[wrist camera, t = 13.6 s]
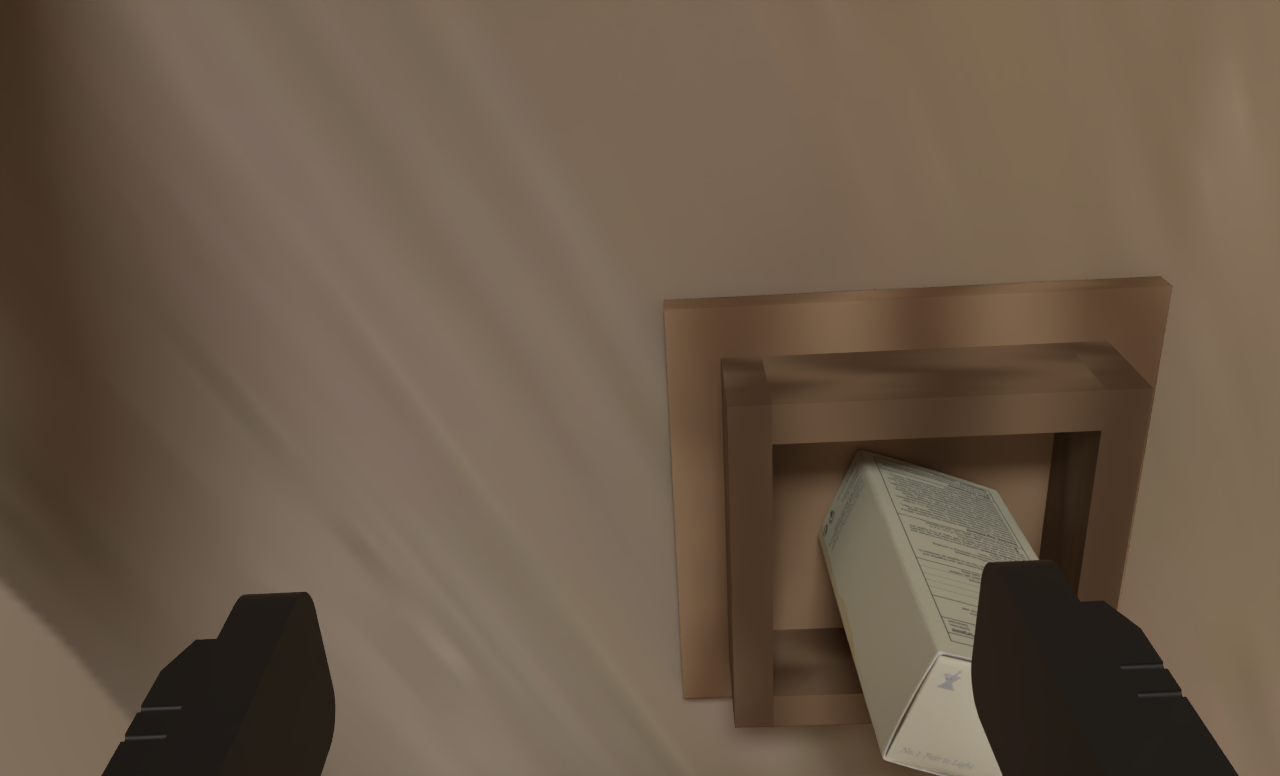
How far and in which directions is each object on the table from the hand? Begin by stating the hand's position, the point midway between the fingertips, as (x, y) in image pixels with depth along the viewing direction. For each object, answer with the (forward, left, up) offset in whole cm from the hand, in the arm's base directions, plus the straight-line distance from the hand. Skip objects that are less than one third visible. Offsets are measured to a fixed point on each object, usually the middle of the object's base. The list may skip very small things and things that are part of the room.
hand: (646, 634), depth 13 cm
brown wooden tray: (+9, -15, -27) cm, 32 cm away
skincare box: (+9, -15, -26) cm, 31 cm away
